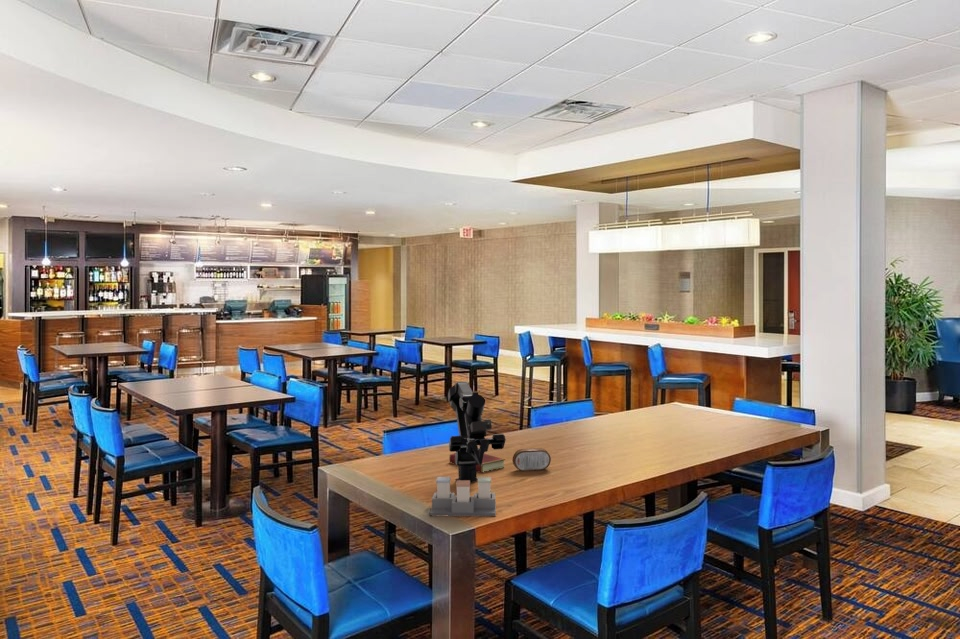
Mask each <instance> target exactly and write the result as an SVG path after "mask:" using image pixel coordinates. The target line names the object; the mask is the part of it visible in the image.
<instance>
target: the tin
mask: <svg viewBox="0 0 960 639" xmlns="http://www.w3.org/2000/svg"><path fill="white" fill-rule="evenodd" d="M551 460H552V457H551V455H550V453H549V452H548V451H547V450H546V449H545V448H542V447H541V448H539V447H537V448H520V449H517V450H516V451H515V452H514V453H513V455H512V464H513V466H514V467H515V468H516V469H517V470H519V471H520V472H530V471H531V472H532V471H533V472H534V470H536V471H544V470H546V469H548V468H549V467H550V465H551V462H552V461H551Z"/></svg>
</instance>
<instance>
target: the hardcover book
mask: <svg viewBox="0 0 960 639" xmlns="http://www.w3.org/2000/svg"><path fill="white" fill-rule="evenodd" d="M455 454H456V452H451V453H449V463H450V462H452V463H451V464H453V463H455ZM505 461H506V459H505V458H503V457H501V456H500V457H499V456H496V455H492V454H489V453H487V452H484V455H483V461H482V465H476V470H477V472H478V471H479V472H478V473H481V472H483V473H485V472H484V471H487V472H490V471H489V470H491V471H494V470H493V469H496V470H499V469H498V468H500V469H504V468H505V464H504V463H505ZM503 467H504V468H503Z"/></svg>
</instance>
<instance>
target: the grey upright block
mask: <svg viewBox="0 0 960 639" xmlns="http://www.w3.org/2000/svg"><path fill="white" fill-rule="evenodd" d="M451 478H452V477H451V476H437V477H436V481H435V482H436V493H437V498H450V493H451Z"/></svg>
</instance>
